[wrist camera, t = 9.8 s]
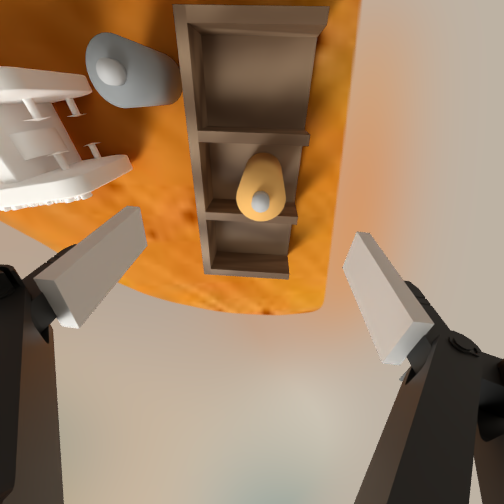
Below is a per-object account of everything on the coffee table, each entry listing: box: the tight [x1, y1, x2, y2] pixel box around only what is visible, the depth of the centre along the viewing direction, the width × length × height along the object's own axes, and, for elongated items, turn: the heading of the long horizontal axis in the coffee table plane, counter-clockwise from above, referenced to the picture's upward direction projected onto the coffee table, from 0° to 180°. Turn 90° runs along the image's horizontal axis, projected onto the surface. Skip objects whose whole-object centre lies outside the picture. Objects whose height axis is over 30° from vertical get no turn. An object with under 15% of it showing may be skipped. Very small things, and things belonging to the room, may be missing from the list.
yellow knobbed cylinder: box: [236, 152, 286, 221], centre depth 25 cm, size 5×5×10 cm
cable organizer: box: [0, 66, 133, 212], centre depth 24 cm, size 15×11×12 cm
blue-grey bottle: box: [86, 33, 182, 108], centre depth 21 cm, size 5×5×10 cm
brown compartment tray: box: [172, 4, 330, 279], centre depth 27 cm, size 27×12×6 cm, turn 179°
